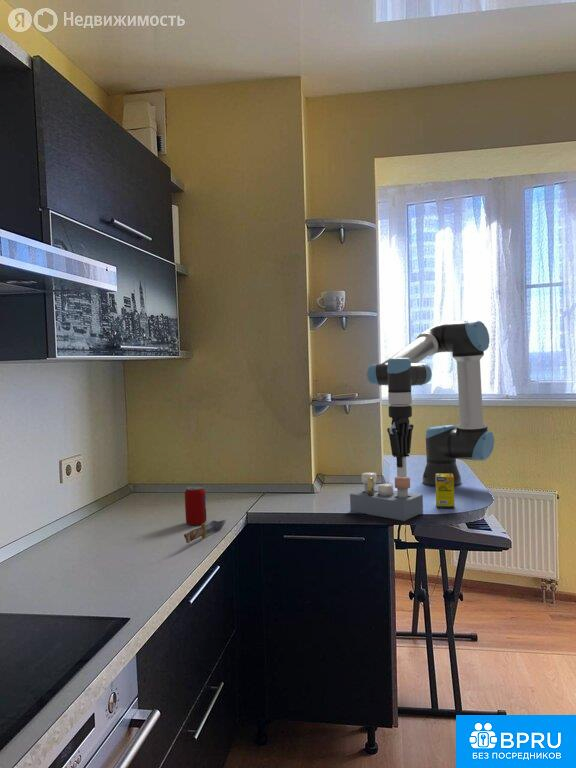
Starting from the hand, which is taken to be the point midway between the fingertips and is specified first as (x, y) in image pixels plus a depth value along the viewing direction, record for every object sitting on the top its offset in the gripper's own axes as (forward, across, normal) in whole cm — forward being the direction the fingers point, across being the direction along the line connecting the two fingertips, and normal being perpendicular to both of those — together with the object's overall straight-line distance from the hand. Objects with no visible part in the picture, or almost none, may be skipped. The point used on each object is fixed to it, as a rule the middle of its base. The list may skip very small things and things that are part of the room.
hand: (401, 476), depth 191 cm
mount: (+13, 0, -6) cm, 14 cm away
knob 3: (+9, 0, 0) cm, 9 cm away
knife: (+13, +54, -36) cm, 66 cm away
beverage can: (+13, +46, -50) cm, 69 cm away
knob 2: (+12, 0, -6) cm, 14 cm away
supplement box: (+13, -17, +6) cm, 23 cm away
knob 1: (+9, 0, -13) cm, 16 cm away
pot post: (+7, +4, -10) cm, 12 cm away
